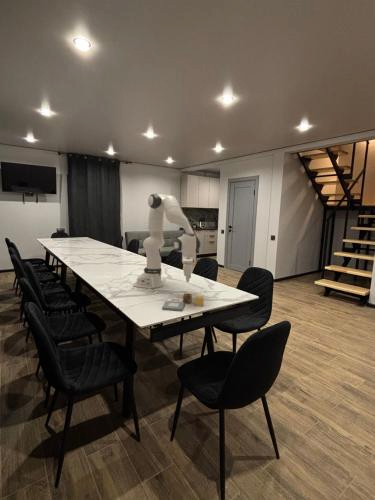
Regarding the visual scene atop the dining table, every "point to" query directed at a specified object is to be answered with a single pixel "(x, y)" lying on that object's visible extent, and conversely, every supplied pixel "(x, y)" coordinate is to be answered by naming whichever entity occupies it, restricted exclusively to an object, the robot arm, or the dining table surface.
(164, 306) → the plate
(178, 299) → the page
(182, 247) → the robot arm
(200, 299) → the block
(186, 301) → the block
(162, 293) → the dining table surface
